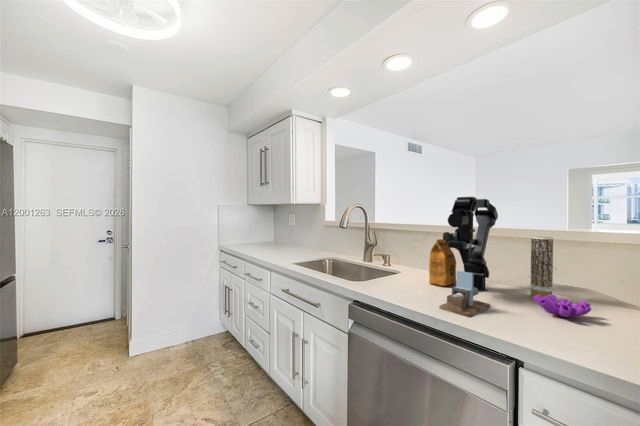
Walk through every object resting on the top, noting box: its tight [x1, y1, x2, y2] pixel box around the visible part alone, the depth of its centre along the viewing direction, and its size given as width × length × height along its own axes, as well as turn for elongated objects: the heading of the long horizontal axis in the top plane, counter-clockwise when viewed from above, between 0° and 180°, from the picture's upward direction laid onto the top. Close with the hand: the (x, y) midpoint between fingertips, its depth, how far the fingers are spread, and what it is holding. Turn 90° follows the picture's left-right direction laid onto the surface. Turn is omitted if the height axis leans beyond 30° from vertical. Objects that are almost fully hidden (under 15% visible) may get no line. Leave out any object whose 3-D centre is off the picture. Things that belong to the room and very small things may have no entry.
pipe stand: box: [438, 287, 490, 318], centre depth 99 cm, size 17×10×6 cm, turn 128°
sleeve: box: [455, 270, 474, 306], centre depth 98 cm, size 3×5×11 cm, turn 38°
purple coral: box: [532, 294, 592, 318], centre depth 92 cm, size 11×15×10 cm
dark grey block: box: [451, 286, 470, 307], centre depth 97 cm, size 2×5×5 cm, turn 38°
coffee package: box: [428, 238, 457, 287], centre depth 131 cm, size 10×12×22 cm
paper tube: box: [530, 235, 554, 299], centre depth 109 cm, size 7×7×25 cm
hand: (464, 263), depth 114 cm, fingers closed
